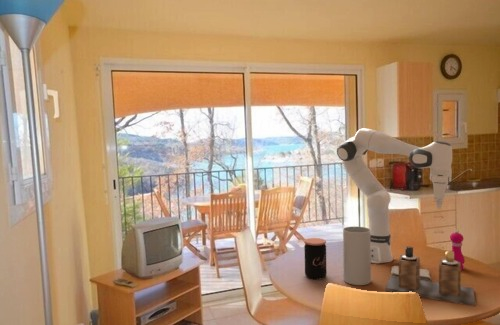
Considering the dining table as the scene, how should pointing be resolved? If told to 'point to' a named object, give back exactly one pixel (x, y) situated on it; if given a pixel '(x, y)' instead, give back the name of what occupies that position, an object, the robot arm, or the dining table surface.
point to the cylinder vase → (357, 255)
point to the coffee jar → (315, 258)
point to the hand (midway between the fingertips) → (439, 206)
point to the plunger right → (449, 259)
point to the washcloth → (423, 273)
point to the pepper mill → (457, 247)
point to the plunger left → (409, 254)
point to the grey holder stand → (432, 283)
